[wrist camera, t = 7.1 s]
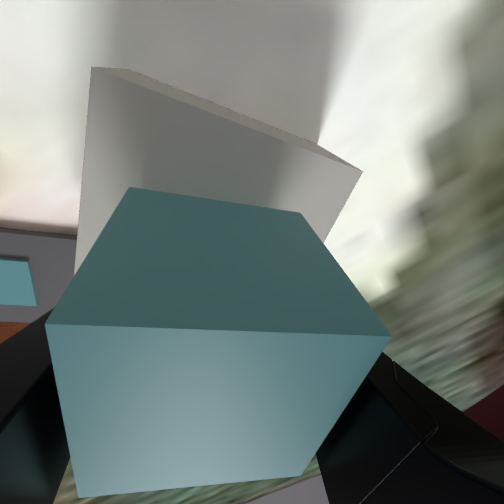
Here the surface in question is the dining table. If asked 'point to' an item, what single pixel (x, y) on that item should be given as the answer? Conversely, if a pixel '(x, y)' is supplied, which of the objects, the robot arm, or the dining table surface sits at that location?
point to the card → (33, 272)
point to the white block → (197, 156)
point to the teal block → (205, 346)
